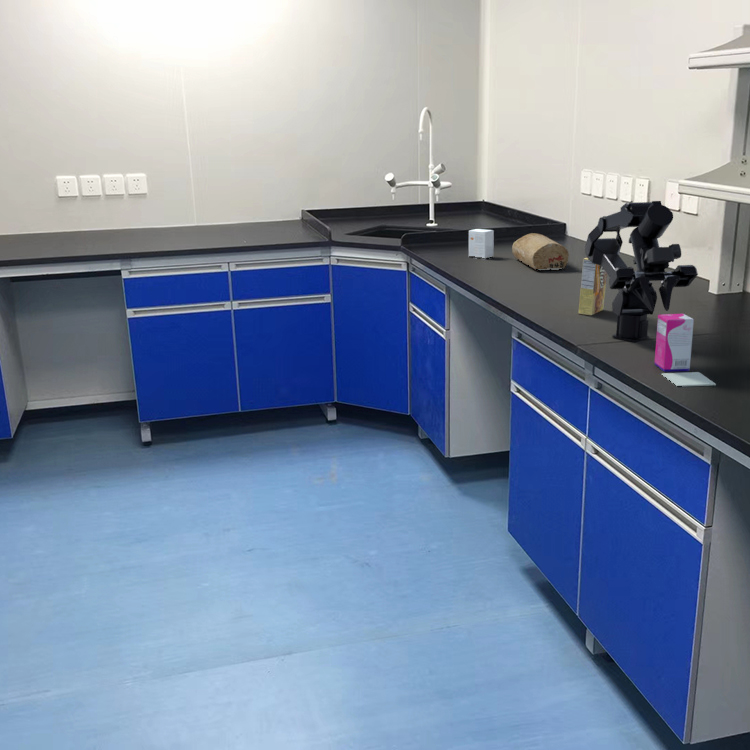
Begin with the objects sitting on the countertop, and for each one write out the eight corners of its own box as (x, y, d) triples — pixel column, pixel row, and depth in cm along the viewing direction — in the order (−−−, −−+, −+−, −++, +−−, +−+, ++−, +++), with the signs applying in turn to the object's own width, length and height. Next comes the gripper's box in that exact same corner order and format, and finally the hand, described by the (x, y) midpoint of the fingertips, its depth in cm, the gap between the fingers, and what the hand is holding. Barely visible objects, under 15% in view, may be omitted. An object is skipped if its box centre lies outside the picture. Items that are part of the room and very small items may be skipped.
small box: (493, 257, 316) (494, 230, 313) (484, 259, 312) (485, 231, 309) (476, 255, 322) (477, 228, 318) (468, 257, 318) (468, 230, 315)
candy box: (589, 308, 234) (594, 254, 229) (604, 310, 231) (609, 255, 227) (577, 313, 227) (582, 258, 222) (592, 316, 224) (597, 259, 220)
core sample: (532, 272, 287) (533, 244, 284) (511, 260, 312) (511, 233, 309) (571, 271, 288) (572, 242, 285) (547, 258, 313) (548, 232, 310)
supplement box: (679, 363, 181) (684, 312, 178) (689, 371, 176) (695, 319, 172) (653, 364, 181) (657, 313, 178) (663, 372, 176) (667, 319, 172)
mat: (661, 374, 174) (661, 373, 174) (698, 373, 174) (698, 372, 174) (676, 386, 166) (677, 385, 166) (715, 385, 167) (715, 383, 167)
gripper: (618, 232, 182) (631, 294, 176) (700, 229, 184) (715, 291, 178) (603, 258, 193) (615, 318, 187) (680, 255, 194) (694, 315, 188)
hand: (660, 310), depth 184 cm, fingers open, 3 cm apart
